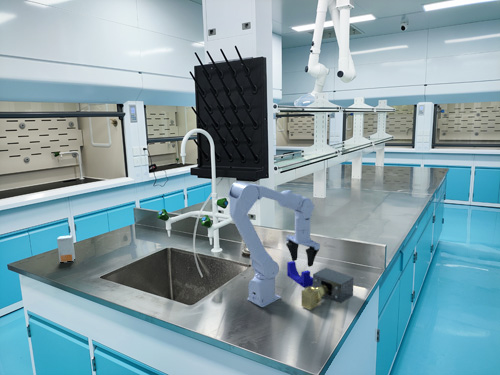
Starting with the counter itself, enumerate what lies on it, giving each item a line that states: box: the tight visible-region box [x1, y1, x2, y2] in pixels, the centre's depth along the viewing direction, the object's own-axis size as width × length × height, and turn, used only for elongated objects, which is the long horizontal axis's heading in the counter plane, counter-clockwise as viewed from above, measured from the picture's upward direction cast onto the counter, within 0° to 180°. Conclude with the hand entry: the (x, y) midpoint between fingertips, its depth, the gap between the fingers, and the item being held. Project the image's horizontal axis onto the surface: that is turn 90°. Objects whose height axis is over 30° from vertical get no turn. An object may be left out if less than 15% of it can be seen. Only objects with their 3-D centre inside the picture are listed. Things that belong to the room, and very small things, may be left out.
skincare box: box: [56, 234, 76, 263], centre depth 164 cm, size 6×4×12 cm
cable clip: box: [286, 260, 313, 288], centre depth 139 cm, size 12×4×6 cm, turn 25°
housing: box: [312, 267, 355, 304], centre depth 127 cm, size 9×12×7 cm
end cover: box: [301, 285, 328, 311], centre depth 120 cm, size 10×6×6 cm, turn 133°
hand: (302, 263), depth 131 cm, fingers open, 7 cm apart
